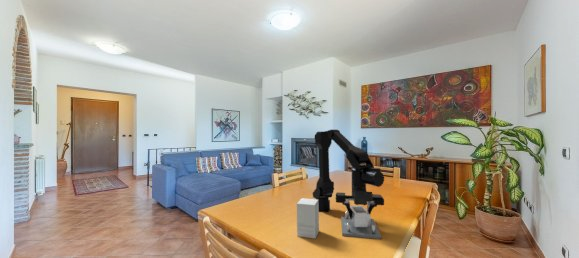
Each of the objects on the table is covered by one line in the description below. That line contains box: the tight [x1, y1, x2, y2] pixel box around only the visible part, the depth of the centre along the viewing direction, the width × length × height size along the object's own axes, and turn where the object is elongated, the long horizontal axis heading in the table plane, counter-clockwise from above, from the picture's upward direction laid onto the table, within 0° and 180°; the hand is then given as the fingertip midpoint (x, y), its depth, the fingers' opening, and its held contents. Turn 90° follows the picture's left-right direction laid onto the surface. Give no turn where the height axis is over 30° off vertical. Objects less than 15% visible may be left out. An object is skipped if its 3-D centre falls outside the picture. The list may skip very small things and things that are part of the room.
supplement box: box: [296, 197, 320, 240], centre depth 88 cm, size 7×7×13 cm
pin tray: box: [340, 210, 382, 240], centre depth 92 cm, size 14×17×4 cm
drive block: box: [348, 205, 371, 227], centre depth 92 cm, size 6×10×5 cm, turn 178°
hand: (359, 219), depth 92 cm, fingers closed on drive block, 6 cm apart
